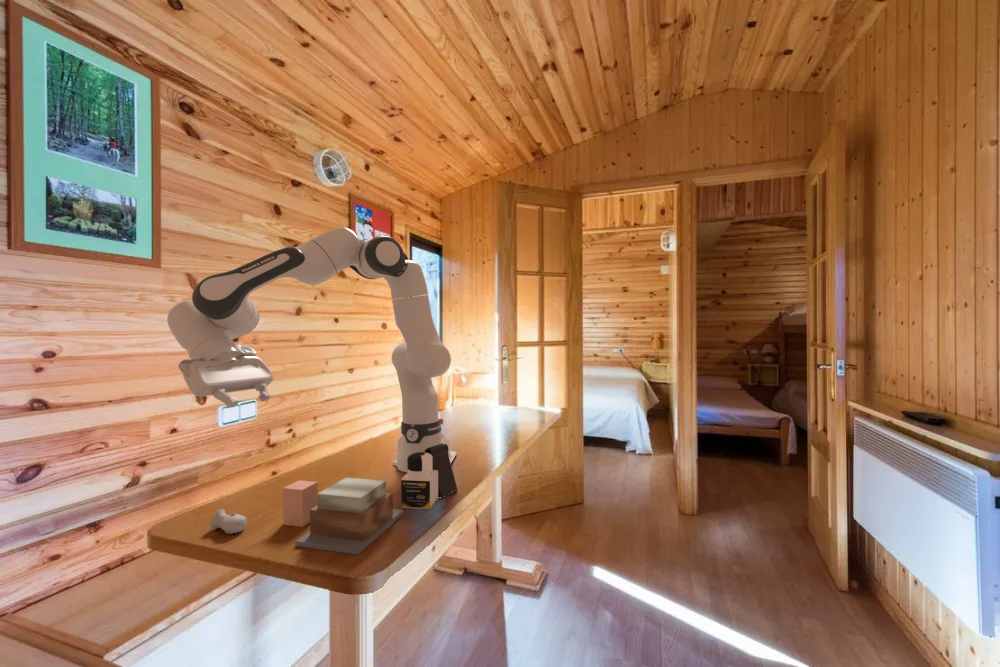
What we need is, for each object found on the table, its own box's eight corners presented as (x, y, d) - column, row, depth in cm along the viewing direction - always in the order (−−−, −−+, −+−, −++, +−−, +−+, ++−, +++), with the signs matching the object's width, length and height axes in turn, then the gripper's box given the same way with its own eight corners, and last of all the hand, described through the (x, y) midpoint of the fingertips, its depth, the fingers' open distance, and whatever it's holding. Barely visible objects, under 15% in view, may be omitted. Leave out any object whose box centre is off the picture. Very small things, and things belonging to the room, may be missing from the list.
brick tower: (345, 510, 98) (345, 475, 98) (392, 515, 95) (392, 479, 95) (310, 534, 86) (309, 495, 86) (362, 541, 83) (361, 500, 83)
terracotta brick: (299, 514, 98) (299, 480, 98) (318, 516, 97) (317, 481, 97) (283, 524, 93) (282, 488, 93) (302, 526, 92) (302, 490, 92)
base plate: (349, 508, 101) (349, 504, 101) (403, 514, 97) (403, 510, 97) (295, 546, 84) (295, 540, 84) (358, 554, 80) (358, 549, 80)
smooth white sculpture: (249, 536, 91) (225, 539, 86) (228, 527, 94) (204, 529, 90) (255, 514, 92) (232, 516, 87) (234, 506, 96) (210, 508, 91)
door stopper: (416, 491, 112) (416, 445, 112) (433, 484, 117) (432, 440, 116) (441, 499, 106) (441, 451, 106) (457, 491, 111) (457, 445, 111)
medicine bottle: (401, 508, 101) (400, 458, 101) (411, 496, 108) (411, 449, 108) (430, 509, 100) (429, 459, 100) (438, 498, 107) (438, 450, 107)
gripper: (183, 350, 90) (219, 399, 87) (259, 348, 110) (290, 388, 107) (165, 370, 91) (201, 419, 88) (244, 365, 111) (275, 404, 108)
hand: (251, 402), depth 98 cm, fingers open, 8 cm apart
